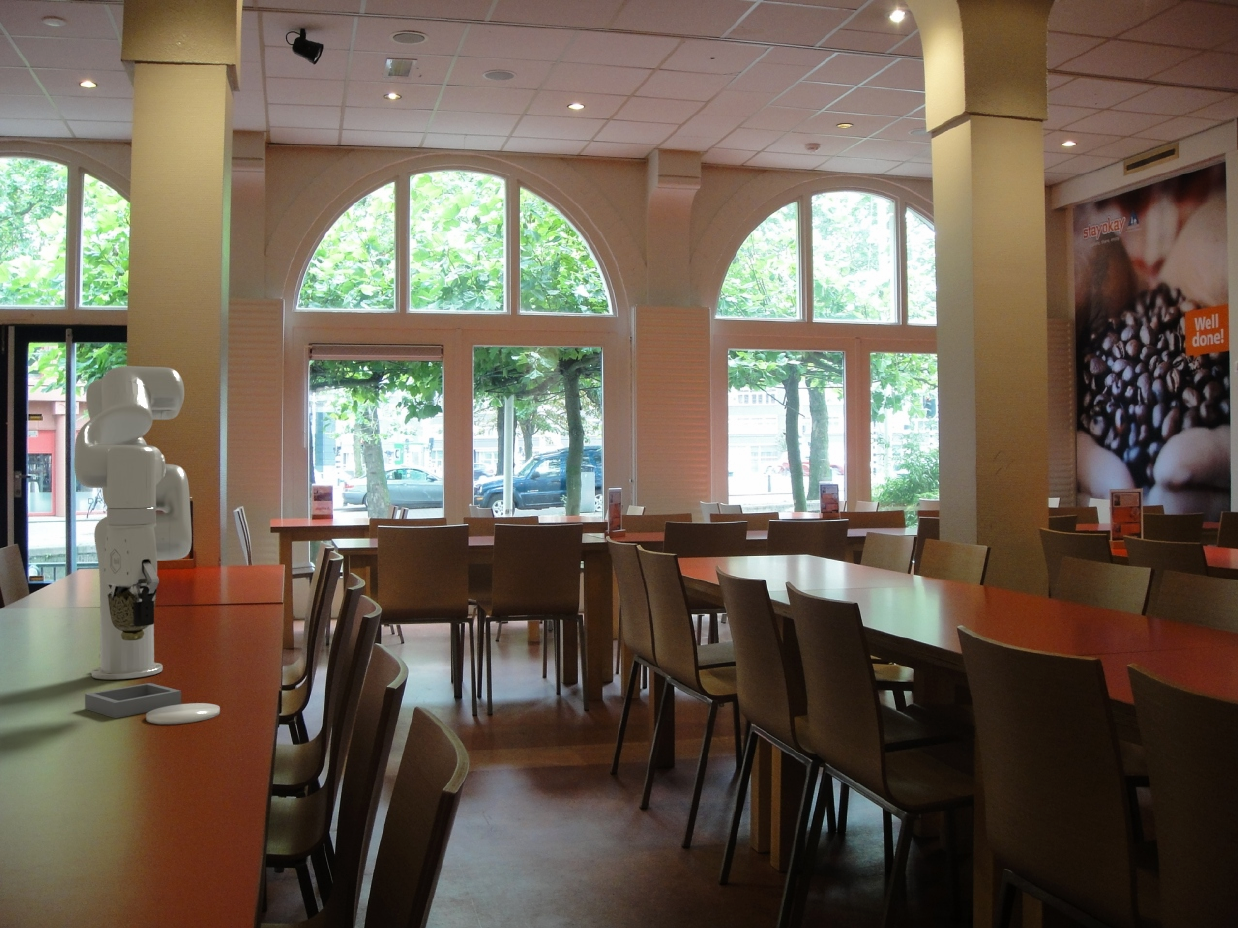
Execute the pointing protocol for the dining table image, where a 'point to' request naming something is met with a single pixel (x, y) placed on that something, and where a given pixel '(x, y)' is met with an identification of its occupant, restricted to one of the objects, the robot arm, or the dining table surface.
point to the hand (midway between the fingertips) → (132, 622)
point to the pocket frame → (132, 700)
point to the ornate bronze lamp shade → (125, 615)
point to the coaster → (183, 713)
